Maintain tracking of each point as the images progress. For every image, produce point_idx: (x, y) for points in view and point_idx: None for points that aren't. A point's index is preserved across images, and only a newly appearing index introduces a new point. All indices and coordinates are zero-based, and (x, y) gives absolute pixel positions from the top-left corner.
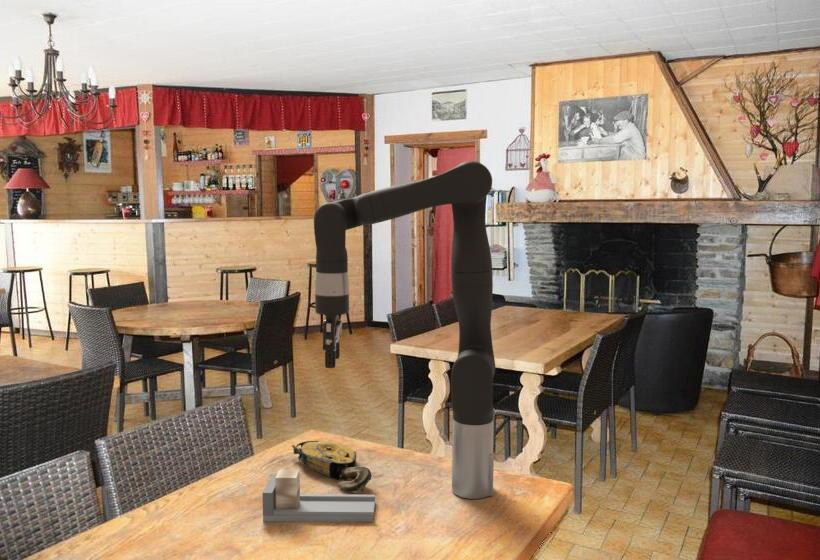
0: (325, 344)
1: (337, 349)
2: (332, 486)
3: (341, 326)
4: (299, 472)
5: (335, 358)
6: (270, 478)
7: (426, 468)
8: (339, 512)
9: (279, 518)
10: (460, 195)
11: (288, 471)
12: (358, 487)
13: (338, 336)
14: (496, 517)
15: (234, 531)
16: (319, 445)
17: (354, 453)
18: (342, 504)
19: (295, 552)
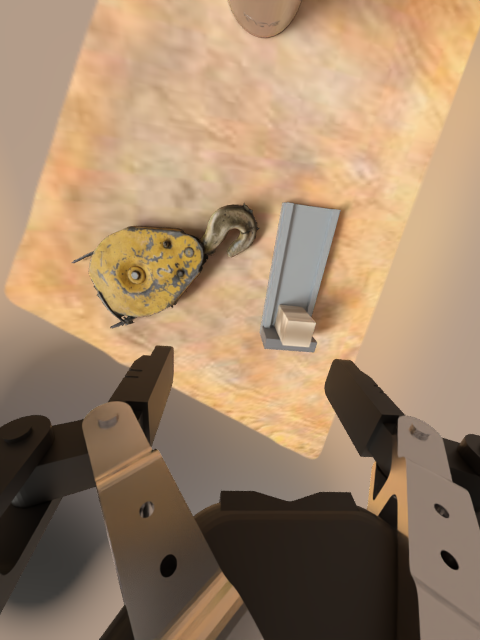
0: (475, 512)
1: (161, 381)
2: (223, 264)
3: (258, 630)
4: (288, 319)
5: (172, 360)
6: (274, 348)
7: (152, 79)
8: (327, 256)
9: None
10: None
11: (292, 333)
12: (256, 227)
13: (448, 508)
14: None
15: (317, 357)
16: (129, 291)
17: (139, 230)
18: (296, 251)
19: (376, 300)
